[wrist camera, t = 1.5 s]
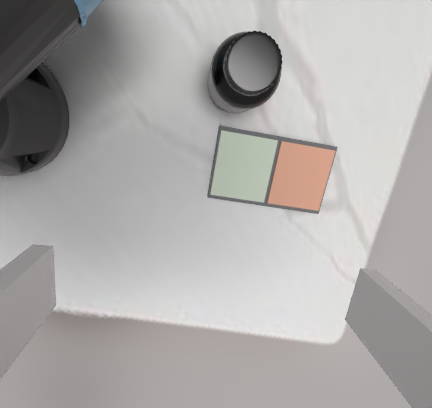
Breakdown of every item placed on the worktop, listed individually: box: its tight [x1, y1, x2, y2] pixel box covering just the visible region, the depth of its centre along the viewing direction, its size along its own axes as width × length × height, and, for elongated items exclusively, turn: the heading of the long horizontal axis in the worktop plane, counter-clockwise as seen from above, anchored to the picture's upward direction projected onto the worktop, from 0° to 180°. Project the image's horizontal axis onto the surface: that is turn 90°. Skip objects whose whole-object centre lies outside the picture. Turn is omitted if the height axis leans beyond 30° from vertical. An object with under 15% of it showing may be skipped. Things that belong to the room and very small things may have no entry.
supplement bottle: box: [208, 31, 282, 113], centre depth 29 cm, size 7×7×12 cm
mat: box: [208, 126, 337, 214], centre depth 37 cm, size 16×10×1 cm, turn 80°
